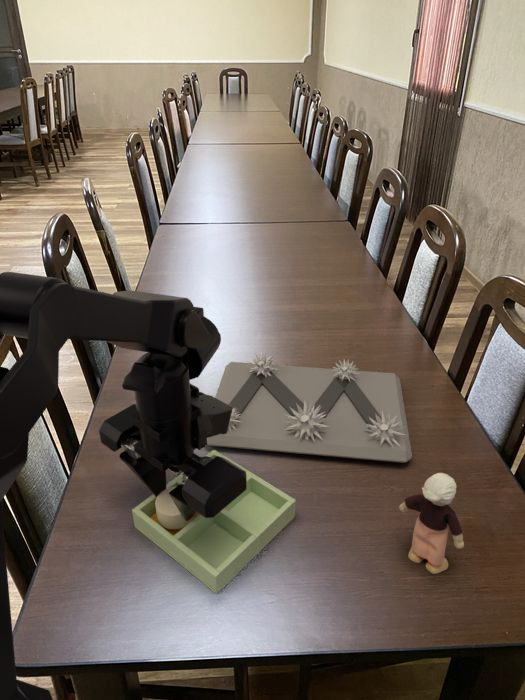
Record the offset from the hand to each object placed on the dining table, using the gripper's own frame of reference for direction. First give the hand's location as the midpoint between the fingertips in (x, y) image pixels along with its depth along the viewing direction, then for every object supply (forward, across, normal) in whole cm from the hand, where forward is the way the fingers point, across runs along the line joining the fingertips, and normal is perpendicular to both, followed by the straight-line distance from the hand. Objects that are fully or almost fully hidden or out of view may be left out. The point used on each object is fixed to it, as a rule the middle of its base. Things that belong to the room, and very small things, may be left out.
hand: (175, 507), depth 65 cm
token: (+1, 0, 0) cm, 1 cm away
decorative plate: (+3, +1, -28) cm, 29 cm away
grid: (+3, -3, -3) cm, 6 cm away
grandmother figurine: (+3, -25, -15) cm, 30 cm away
